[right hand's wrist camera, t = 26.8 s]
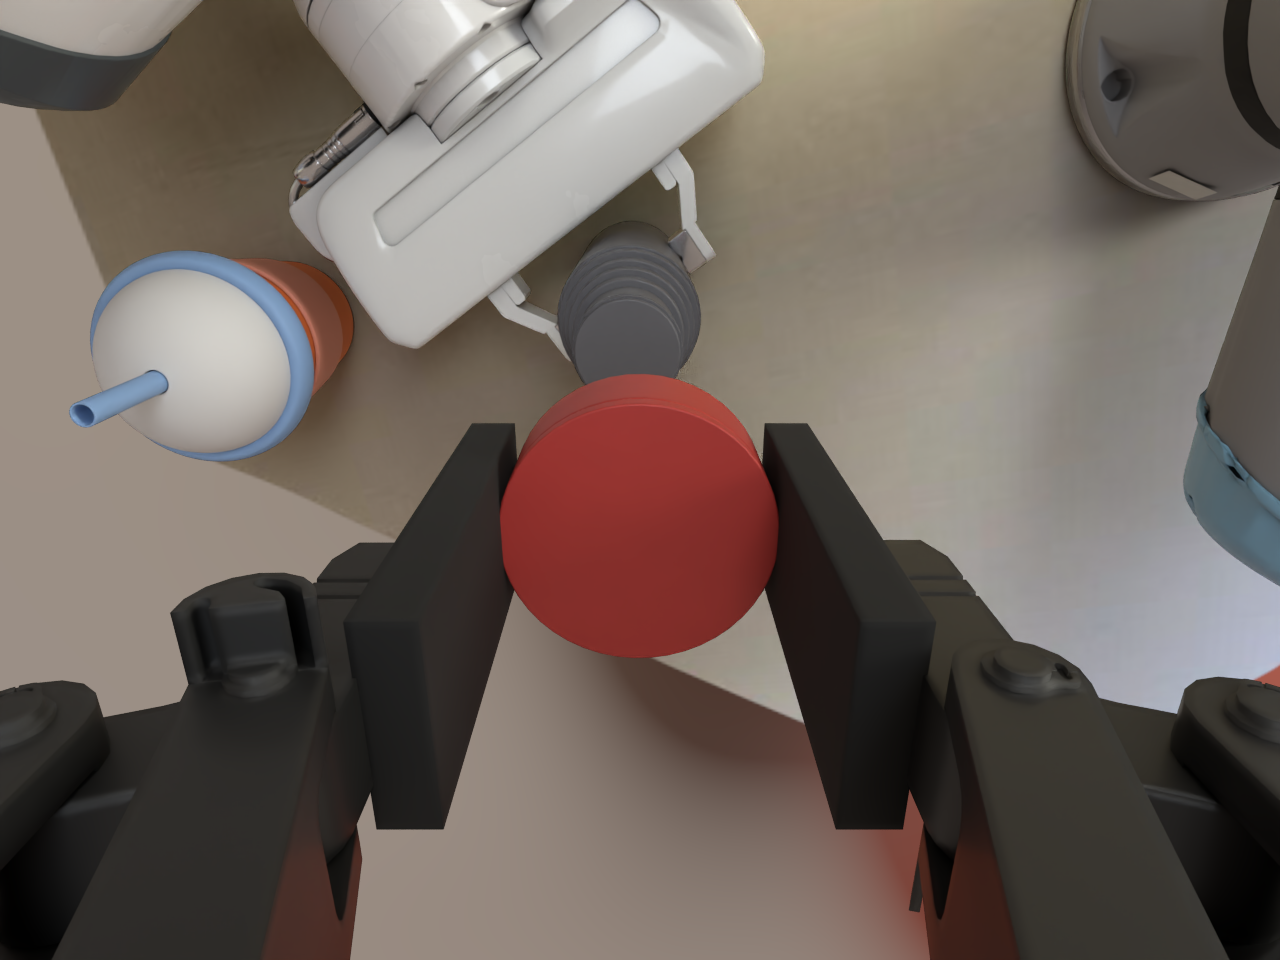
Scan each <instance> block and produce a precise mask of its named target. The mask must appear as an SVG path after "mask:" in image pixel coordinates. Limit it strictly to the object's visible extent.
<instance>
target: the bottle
mask: <svg viewBox="0 0 1280 960" xmlns="http://www.w3.org/2000/svg"><path fill="white" fill-rule="evenodd" d="M667 239H668V237H667V236H666V235H665V234H664V233H663V232H662V231H661V230H659V229H657V228H656V227H654V226H652V225H649V224H646V223H643V222H637V221H627V222H621V223H617V224H614V225H612V226H609V227H608V228H606V229H604V230H603V231H602V232H600V233H599V234H598V235H597V236H596V237H595V238H594V239H593V241H592V242H591V243H590V245H589V246H588V248H587V249H586V251H585V253H584V254H583V256H582V257H581V259H580V261H579V262H578V264H577V265H576V267H575V269H574V270H573V272H572V273H571V275H570V276H569V278H568V280H567V282H566V284H565V285H564V288H563V290H562V293H561V296H560V300H559V304H558V314H557V315H558V328H559V334H560V337H561V340H562V344H563V346H564V349H565V351H566V353H567V355H568V356H569V358H570V360H571V361H572V363H573V364H574V366H575V369H576V371H577V373H578V375H579V376H580V378H581V380H582V382H583V383H584V384H585V385H587V384H590V383H592V382H595V381H598V380H602V379H605V378H608V377H614V376H620V375H627V374H649V375H659V376H664V377H669V378H673V379H675V378H676V376H677V374H678V371H679V370H680V369H681V368H682V367H683V365H684V364H685V363H686V362H687V360H688V358H689V357H690V355H691V353H692V351H693V349H694V347H695V344H696V342H697V338H698V335H699V330H700V324H701V312H700V304H699V299H698V296H697V293H696V290H695V288H694V285H693V283H692V281H691V279H690V277H689V275H688V273H687V270H686V268H685V266H684V264H683V263H682V261H681V258H680V256H678V255H677V254H676V253H675V252H674V251H673V249H672V248H671V246H670V245H669V243H668V241H667Z"/></svg>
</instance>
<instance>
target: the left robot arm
mask: <svg viewBox="0 0 1280 960" xmlns="http://www.w3.org/2000/svg"><path fill="white" fill-rule="evenodd" d="M202 1H203V0H0V103H4V104H9V105H14V106H19V107H26V108H35V109H46V110H63V111H90V110H99V109H103V108H106V107H108V106H110V105H112V104H113V103H115V102H116V101H117V100H118V99H119V97H120V96H121V95H122V94H123V93H124V92H125V90H126V89H127V88H128V87H129V86H130V84H131V83H132V82H133V81H134V80H135V79H136V77H137V76H138V75H139V74H140V73H141V71H142V70H143V69H144V68H145V67H146V66H147V64H148V63H149V62H150V61H151V60H152V58H153V57H154V56H155V55H156V54H157V53H158V51H159V50H160V49H161V48H162V47H163V46H164V44H165V43H166V42H167V40H168V38H169V36H170V34H171V32H172V30H173V29H174V28H175V27H176V26H177V25H178V24H179V23H180V22H181V21H182V20H183V19H185V18H186V17H187V16H188V15H189V14H190V13H191V12H192V11H193V10H194V9H195V8H196V7H197V6H198V5H199V4H200V3H201V2H202ZM293 2H294V4H295V7H296V9H297V11H298V13H299V15H300V17H301V19H302V20H303V22H304V23H305V25H306V26H307V28H308V29H309V31H310V32H311V33H312V34H313V36H314V37H315V38H316V40H317V41H318V42H319V43H320V45H321V46H322V47H323V49H324V50H325V51H326V52H327V54H328V55H329V56H330V58H331V59H332V60H333V62H334V63H335V64H336V65H337V67H338V68H339V69H340V71H341V72H342V73H343V75H344V76H345V77H346V78H347V80H348V81H349V82H350V84H351V85H352V87H353V88H354V89H355V91H356V92H357V93H358V94H359V96H360V97H361V98H362V99H363V100H364V104H363V105H362V106H361V107H359V108H358V109H357V110H356V111H354V113H353V114H352V115H351V116H350V117H348V118H347V119H346V120H345V121H344V122H343V123H342V124H341V125H339V126H338V128H337V129H336V130H335V131H334V132H333V133H332V134H331V136H330V137H329V138H328V139H327V140H326V141H325V142H324V143H323V144H322V145H321V146H320V147H319V148H318V149H316V150H315V151H314V150H312V151H311V152H309V153H308V154H306V155H305V156H304V157H303V158H302V159H301V160H300V161H299V162H298V164H297V165H296V166H295V168H294V169H293V175H294V177H295V180H294V181H293V183H292V185H291V188H290V191H289V212H290V215H291V218H292V220H293V222H294V223H295V225H296V226H297V228H298V229H299V230H300V231H301V232H302V234H303V235H304V236H305V237H306V238H307V239H308V241H309V242H310V243H311V244H312V245H313V247H314V248H315V249H316V250H317V251H318V252H319V253H320V254H321V255H322V256H324V257H325V258H326V259H328V260H330V261H332V262H334V263H335V265H336V266H337V268H338V270H339V271H340V273H341V274H342V276H343V278H344V279H345V281H346V283H347V284H348V286H349V287H350V289H351V290H352V292H353V293H354V295H355V296H356V298H357V299H358V301H359V302H360V304H361V305H362V306H363V308H364V309H365V311H366V312H367V313H368V315H369V316H370V317H371V319H372V320H373V321H374V323H375V324H376V325H377V327H378V328H379V329H380V331H381V332H382V333H383V334H384V336H385V337H386V338H387V339H388V340H389V341H391V342H393V343H395V344H398V345H402V346H405V347H409V348H413V349H418V348H420V347H422V346H423V345H425V344H426V343H427V342H429V341H430V340H431V339H432V338H434V337H435V336H436V335H438V334H439V333H440V332H441V331H443V330H444V329H445V328H447V327H448V326H449V325H451V324H452V323H453V322H454V321H456V320H457V319H458V318H460V317H461V316H462V315H463V314H465V313H466V312H467V311H468V310H470V309H471V308H472V307H473V306H475V305H476V304H477V303H479V302H480V301H481V300H482V299H484V298H485V297H486V296H487V297H488V298H489V299H490V301H491V302H492V303H493V304H494V306H495V307H496V308H497V310H498V311H499V312H500V313H501V315H502V316H503V317H504V318H507V319H509V320H511V321H514V322H516V323H518V324H521V325H523V326H525V327H528V328H530V329H532V330H535V331H537V332H540V333H542V334H545V333H547V335H548V336H549V337H550V339H551V340H552V341H553V342H554V344H555V345H556V346H557V348H558V349H559V350H560V352H561V353H562V354H563V355H564V357H565V358H566V359H567V360H568V361H570V362H571V360H570V358H569V356H568V355H567V353H566V351H565V349H564V346H563V344H562V340H561V337H560V334H559V328H558V316H556V315H554V314H552V313H550V312H548V311H546V310H544V309H541V308H539V307H537V306H535V305H533V304H531V303H529V302H526V301H525V300H526V298H527V297H528V296H529V295H530V294H531V289H530V288H529V287H528V285H527V284H526V283H525V281H524V280H523V278H522V277H521V276H520V274H519V273H518V272H519V271H520V270H521V269H522V268H524V267H525V266H526V265H528V264H529V263H530V262H532V261H533V260H534V259H535V258H537V257H538V256H539V255H541V254H542V253H543V252H544V251H546V250H547V249H548V248H550V247H551V246H552V245H553V244H555V243H556V242H557V241H559V240H560V239H561V238H563V237H564V236H565V235H566V234H568V233H569V232H570V231H572V230H573V229H574V228H575V227H577V226H578V225H579V224H581V223H582V222H583V221H584V220H586V219H587V218H588V217H590V216H591V215H592V214H593V213H595V212H596V211H597V210H599V209H600V208H601V207H603V206H604V205H605V204H606V203H608V202H609V201H610V200H612V199H613V198H614V197H615V196H617V195H618V194H619V193H621V192H622V191H623V190H624V189H626V188H627V187H628V186H630V185H631V184H632V183H634V182H635V181H636V180H637V179H639V178H640V177H641V176H643V175H644V174H645V173H646V172H648V171H649V170H650V169H651V170H652V172H653V173H654V175H655V176H656V178H657V179H658V181H659V182H660V183H661V185H662V186H663V188H664V189H665V190H670V189H672V188H673V187H674V186H675V185H676V184H677V195H678V207H679V219H680V228H681V229H679V230H678V231H677V232H675V233H674V234H673V235H672V236H670V237H669V238H668V239H667V241H668V243H669V245H670V246H671V248H672V249H673V251H674V252H675V253H676V254H677V255H678V256H680V258H681V261H682V263H683V264H684V266H685V268H686V270H687V271H688V273H689V274H692V273H693V272H694V271H696V270H697V269H699V268H700V267H701V266H703V265H704V264H706V263H707V262H708V261H710V260H711V259H713V258H714V257H715V256H717V255H716V254H715V252H714V250H713V249H712V247H711V246H710V244H709V242H708V241H707V239H706V238H705V236H704V235H703V233H702V232H701V230H700V229H699V227H698V226H697V224H696V223H695V221H696V220H697V212H696V198H695V184H694V172H693V171H692V169H691V168H690V166H689V164H688V163H687V161H686V160H685V158H684V157H683V155H682V154H681V152H680V150H679V149H678V148H679V147H680V146H681V145H683V144H684V143H685V142H686V141H688V140H689V139H690V138H692V137H693V136H694V135H695V134H697V133H698V132H699V131H701V130H702V129H703V128H704V127H706V126H707V125H709V124H710V123H711V122H713V121H714V120H715V119H716V118H718V117H719V116H720V115H722V114H723V113H724V112H725V111H727V110H728V109H729V108H731V107H732V106H733V105H735V104H736V103H737V102H738V101H740V100H741V99H742V98H744V97H745V96H746V95H747V94H749V93H750V92H751V91H753V90H754V89H755V88H756V87H758V86H759V85H760V84H761V82H762V79H763V74H764V66H765V50H764V47H763V45H762V42H761V40H760V39H759V37H758V35H757V34H756V32H755V30H754V28H753V27H752V25H751V24H750V22H749V21H748V19H747V18H746V16H745V15H744V13H743V12H742V10H741V9H740V7H739V6H738V4H737V3H736V1H735V0H293ZM343 159H344V160H343ZM342 160H343V161H342ZM338 163H339V164H338ZM336 165H337V166H336ZM335 166H336V167H335ZM303 186H304V187H306V188H310V189H309V190H308V191H307V192H306V193H305V194H303V195H302V196H301V197H300V198H299V194H300V191H301V189H302V187H303ZM685 229H686V230H685Z"/></svg>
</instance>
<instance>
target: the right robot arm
mask: <svg viewBox="0 0 1280 960" xmlns="http://www.w3.org/2000/svg"><path fill="white" fill-rule="evenodd" d="M1066 85H1067V93H1068V99H1069V104H1070V108H1071V112H1072V116H1073V118H1074V121H1075V124H1076V127H1077V129H1078V131H1079V134H1080V136H1081V138H1082V140H1083V142H1084V143H1085V145H1086V146H1087V148H1088V150H1089V151H1090V153H1091V154H1092V155H1093V157H1094V158H1095V159H1096V160H1097V161H1098V163H1099V164H1100V165H1101V166H1102V167H1103V168H1104V169H1105V170H1106V171H1107V172H1108V173H1110V174H1111V175H1112V176H1114V177H1115V178H1116V179H1117V180H1119V181H1120V182H1122V183H1124V184H1125V185H1127V186H1129V187H1131V188H1133V189H1135V190H1137V191H1140V192H1142V193H1145V194H1148V195H1152V196H1155V197H1160V198H1166V199H1173V200H1190V201H1217V200H1224V199H1231V198H1236V197H1241V196H1246V195H1250V194H1255V193H1258V192H1261V191H1264V190H1268V189H1270V188H1273V187H1275V186H1278V185H1279V187H1278V190H1277V193H1276V196H1275V198H1274V199H1276V200H1273V203H1272V206H1271V209H1270V212H1269V215H1268V218H1267V220H1266V223H1265V226H1264V229H1263V232H1262V235H1261V238H1260V241H1259V244H1258V247H1257V249H1256V252H1255V255H1254V258H1253V261H1252V264H1251V266H1250V269H1249V272H1248V275H1247V278H1246V281H1245V283H1244V286H1243V289H1242V292H1241V295H1240V298H1239V300H1238V303H1237V306H1236V309H1235V312H1234V314H1233V317H1232V320H1231V323H1230V326H1229V329H1228V331H1227V334H1226V337H1225V340H1224V343H1223V346H1222V348H1221V351H1220V354H1219V357H1218V360H1217V363H1216V365H1215V368H1214V371H1213V374H1212V377H1211V379H1210V382H1209V385H1208V387H1207V389H1206V390H1205V391H1204V392H1203V393H1202V394H1201V395H1200V397H1199V400H1198V403H1197V407H1196V418H1197V421H1198V425H1197V428H1196V432H1195V436H1194V439H1193V443H1192V446H1191V450H1190V453H1189V457H1188V460H1187V464H1186V468H1185V472H1184V479H1183V486H1184V493H1185V497H1186V500H1187V502H1188V504H1189V506H1190V508H1191V510H1192V511H1193V513H1194V514H1195V515H1196V516H1197V519H1198V521H1199V523H1200V525H1201V526H1202V527H1203V529H1204V530H1205V531H1206V532H1207V533H1208V534H1209V535H1210V536H1211V537H1212V538H1213V539H1214V540H1215V541H1216V542H1217V543H1218V544H1219V545H1220V546H1221V547H1223V548H1224V549H1225V550H1226V551H1227V552H1229V553H1230V554H1231V555H1232V556H1234V557H1235V558H1236V559H1238V560H1239V561H1241V562H1242V563H1243V564H1245V565H1246V566H1248V567H1249V568H1251V569H1252V570H1254V571H1255V572H1257V573H1259V574H1260V575H1262V576H1263V577H1265V578H1267V579H1268V580H1270V581H1272V582H1274V583H1275V584H1277V585H1279V586H1280V0H1077V3H1076V6H1075V9H1074V12H1073V16H1072V21H1071V25H1070V29H1069V35H1068V42H1067V49H1066ZM516 462H517V452H516V436H515V423H472V424H471V426H470V428H469V429H468V431H467V432H466V434H465V435H464V437H463V438H462V440H461V441H460V443H459V444H458V446H457V447H456V449H455V451H454V452H453V454H452V455H451V457H450V458H449V460H448V461H447V463H446V464H445V466H444V467H443V469H442V470H441V472H440V474H439V475H438V477H437V478H436V480H435V481H434V483H433V484H432V486H431V487H430V489H429V490H428V492H427V494H426V495H425V497H424V498H423V500H422V501H421V503H420V504H419V506H418V507H417V509H416V510H415V512H414V513H413V515H412V517H411V518H410V520H409V521H408V523H407V524H406V526H405V527H404V529H403V530H402V532H401V533H400V535H399V536H398V538H397V540H396V541H395V543H358V544H357V545H355V546H353V547H352V548H350V549H348V550H347V551H345V552H343V553H342V554H340V555H339V556H337V557H335V558H334V559H332V560H331V562H330V563H329V564H328V565H327V567H326V568H325V569H324V570H323V572H322V573H321V574H320V576H319V577H318V578H317V583H313V584H312V583H311V582H310V581H308V580H307V579H305V578H304V577H301V576H296V575H292V574H287V573H257V574H252V575H246V576H241V577H235V578H231V579H228V580H225V581H222V582H219V583H216V584H213V585H210V586H207V587H205V588H203V589H201V590H199V591H198V592H196V593H194V594H192V595H191V596H189V597H187V598H185V599H184V600H183V601H182V602H181V603H180V604H179V605H178V606H177V607H176V608H175V609H174V610H173V611H172V612H171V613H170V614H171V618H172V622H173V626H174V629H175V633H176V637H177V641H178V645H179V649H180V653H181V657H182V660H183V665H184V668H185V672H186V676H187V680H188V684H189V685H188V687H187V689H186V691H185V693H184V695H183V697H182V699H181V701H180V702H177V703H173V704H169V705H165V706H161V707H155V708H150V709H145V710H139V711H134V712H129V713H124V714H119V715H114V716H108V717H103V715H102V712H101V708H100V705H99V702H98V699H97V695H96V693H95V692H94V691H93V690H91V689H90V688H89V687H87V686H86V685H85V684H82V683H76V682H69V681H52V682H43V683H30V684H25V685H20V686H19V688H15V687H13V688H10V689H6V690H3V691H0V960H350V955H351V947H352V939H353V930H354V922H355V914H356V906H357V897H358V889H359V881H360V873H361V864H362V855H361V848H360V841H359V836H358V830H357V822H358V820H359V818H360V815H361V813H362V811H363V808H364V806H365V804H366V801H367V799H368V797H369V794H370V792H371V798H372V804H373V810H374V816H375V822H376V829H444V826H445V823H446V819H447V816H448V813H449V809H450V806H451V802H452V799H453V796H454V792H455V789H456V786H457V782H458V779H459V775H460V772H461V769H462V765H463V762H464V758H465V755H466V752H467V748H468V745H469V742H470V738H471V735H472V731H473V728H474V725H475V721H476V718H477V714H478V711H479V707H480V704H481V701H482V697H483V694H484V691H485V687H486V684H487V681H488V677H489V674H490V670H491V667H492V664H493V660H494V657H495V653H496V650H497V647H498V643H499V640H500V637H501V633H502V630H503V626H504V623H505V620H506V616H507V613H508V610H509V606H510V603H511V599H512V596H513V593H514V588H513V586H512V585H511V583H510V581H509V578H508V576H507V573H506V571H505V569H504V564H503V551H502V537H501V524H500V507H501V502H502V498H503V495H504V492H505V490H506V487H507V484H508V481H509V479H510V477H511V474H512V472H513V470H514V467H515V465H516ZM762 466H763V468H764V471H765V473H766V476H767V478H768V480H769V483H770V485H771V488H772V490H773V493H774V496H775V500H776V504H777V508H778V514H779V529H778V544H777V556H776V562H775V565H774V567H773V570H772V573H771V576H770V578H769V580H768V582H767V584H766V586H765V591H766V594H767V598H768V601H769V604H770V608H771V611H772V615H773V618H774V621H775V625H776V628H777V632H778V635H779V638H780V642H781V645H782V648H783V652H784V655H785V659H786V662H787V665H788V669H789V672H790V676H791V679H792V682H793V686H794V689H795V693H796V696H797V699H798V703H799V706H800V709H801V713H802V716H803V720H804V723H805V726H806V730H807V733H808V736H809V740H810V743H811V747H812V750H813V753H814V757H815V760H816V764H817V767H818V770H819V774H820V777H821V780H822V784H823V787H824V791H825V794H826V797H827V801H828V804H829V808H830V811H831V814H832V818H833V821H834V825H835V828H836V829H903V825H904V819H905V813H906V807H907V801H908V795H909V789H910V792H911V794H912V796H913V799H914V801H915V803H916V806H917V808H918V810H919V812H920V815H921V817H922V819H923V822H924V824H923V830H922V836H921V842H920V847H919V853H918V859H917V865H916V870H915V876H914V882H913V887H912V893H911V900H910V907H909V910H910V911H915V912H920V907H921V902H922V897H923V904H924V912H925V920H926V929H927V937H928V945H929V953H930V960H1280V687H1277V686H1274V685H1271V684H1267V683H1265V684H1262V682H1259V681H1254V680H1249V679H1236V678H1225V677H1213V678H1207V679H1200V680H1196V681H1195V682H1193V683H1192V684H1191V685H1189V686H1188V687H1187V688H1185V690H1184V693H1183V696H1182V700H1181V703H1180V706H1179V709H1178V713H1177V714H1175V713H1169V712H1164V711H1159V710H1154V709H1149V708H1143V707H1138V706H1133V705H1128V704H1122V703H1117V702H1113V701H1109V700H1105V699H1101V698H1099V697H1098V695H1097V693H1096V691H1095V689H1094V687H1093V685H1092V683H1091V682H1090V681H1089V680H1088V679H1087V677H1086V676H1085V675H1084V674H1083V673H1082V671H1081V670H1080V669H1079V668H1078V667H1076V666H1075V665H1073V664H1072V663H1070V662H1069V661H1067V660H1066V659H1064V658H1063V657H1061V656H1060V655H1058V654H1055V653H1053V652H1050V651H1048V650H1045V649H1043V648H1040V647H1038V646H1035V645H1032V644H1027V643H1023V642H1018V641H1014V640H1013V639H1012V638H1011V636H1010V635H1009V634H1008V633H1007V631H1006V630H1005V629H1004V627H1003V626H1002V625H1001V624H1000V622H999V621H998V620H997V619H996V617H995V616H994V615H993V613H992V612H991V611H990V610H989V608H988V607H987V606H986V605H985V603H984V602H983V601H982V600H981V598H980V597H979V596H976V594H975V593H976V592H975V591H974V589H973V588H972V587H971V586H970V584H969V583H968V582H967V581H966V580H963V575H962V574H961V573H960V572H959V570H958V569H957V568H956V567H955V565H954V564H953V563H952V562H951V560H950V559H949V558H948V557H947V556H946V555H944V554H942V553H941V552H939V551H937V550H936V549H934V548H933V547H931V546H929V545H928V544H926V543H924V542H923V541H921V540H883V539H882V537H881V536H880V534H879V533H878V531H877V530H876V528H875V527H874V525H873V524H872V522H871V520H870V519H869V517H868V516H867V514H866V513H865V511H864V510H863V508H862V507H861V505H860V504H859V502H858V501H857V499H856V497H855V496H854V494H853V493H852V491H851V490H850V488H849V487H848V485H847V484H846V482H845V481H844V479H843V477H842V476H841V474H840V473H839V471H838V470H837V468H836V467H835V465H834V464H833V462H832V461H831V459H830V458H829V456H828V454H827V453H826V451H825V450H824V448H823V447H822V445H821V444H820V442H819V441H818V439H817V438H816V436H815V434H814V433H813V431H812V430H811V428H810V427H809V425H808V424H807V423H765V428H764V444H763V460H762Z"/></svg>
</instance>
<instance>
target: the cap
mask: <svg viewBox="0 0 1280 960" xmlns="http://www.w3.org/2000/svg"><path fill="white" fill-rule="evenodd" d="M500 524H501V537H502V551H503V564H504V569H505V571H506V573H507V576H508V578H509V581H510V583H511V585H512V586H513V588H514V590H515V592H516V593H517V595H518V597H519V598H520V599H521V601H522V602H523V603H524V604H525V606H526V607H527V608H528V610H529V611H530V612H531V613H532V614H533V615H534V616H535V617H536V618H537V619H538V620H539V621H540V622H541V623H543V624H544V625H545V626H547V627H548V628H549V629H550V630H552V631H553V632H554V633H556V634H558V635H559V636H561V637H563V638H564V639H566V640H568V641H570V642H572V643H574V644H576V645H579V646H581V647H583V648H586V649H589V650H592V651H595V652H598V653H602V654H607V655H612V656H618V657H629V658H652V657H659V656H667V655H671V654H675V653H679V652H683V651H686V650H689V649H692V648H694V647H697V646H700V645H702V644H704V643H706V642H708V641H710V640H712V639H714V638H716V637H717V636H719V635H720V634H722V633H723V632H725V631H726V630H728V629H729V628H730V627H731V626H733V625H734V624H735V623H736V622H737V621H738V620H740V619H741V618H742V617H743V616H744V615H745V614H746V612H747V611H748V610H749V609H750V608H751V607H752V606H753V605H754V603H755V602H756V600H757V599H758V597H759V596H760V595H761V593H762V592H763V590H764V588H765V586H766V584H767V582H768V580H769V578H770V576H771V573H772V570H773V567H774V565H775V562H776V556H777V544H778V529H779V514H778V508H777V504H776V500H775V496H774V493H773V490H772V488H771V485H770V483H769V480H768V478H767V476H766V473H765V471H764V468H763V466H762V463H761V461H760V459H759V456H758V454H757V451H756V449H755V446H754V444H753V441H752V440H751V438H750V436H749V435H748V433H747V431H746V429H745V428H744V426H743V425H742V424H741V423H740V421H739V420H738V419H737V418H736V416H735V415H734V414H733V413H732V412H731V411H730V410H729V409H728V408H727V407H726V406H725V405H723V404H722V403H721V402H720V401H718V400H717V399H716V398H714V397H713V396H711V395H710V394H708V393H707V392H705V391H703V390H701V389H699V388H697V387H695V386H693V385H691V384H688V383H685V382H683V381H680V380H677V379H673V378H669V377H664V376H659V375H649V374H627V375H620V376H614V377H608V378H605V379H602V380H598V381H595V382H592V383H590V384H587V385H585V386H583V387H581V388H578V389H577V390H575V391H573V392H572V393H570V394H568V395H567V396H565V397H563V398H562V399H561V400H560V401H558V402H557V403H556V404H555V405H553V406H552V407H551V408H550V409H549V410H548V411H547V412H546V413H545V414H544V415H543V416H542V417H541V419H540V420H539V421H538V422H537V424H536V425H535V427H534V428H533V429H532V431H531V432H530V434H529V436H528V438H527V440H526V442H525V444H524V446H523V448H522V450H521V453H520V455H519V458H518V460H517V462H516V465H515V467H514V470H513V472H512V474H511V477H510V479H509V481H508V484H507V487H506V490H505V492H504V495H503V498H502V502H501V507H500Z"/></svg>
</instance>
